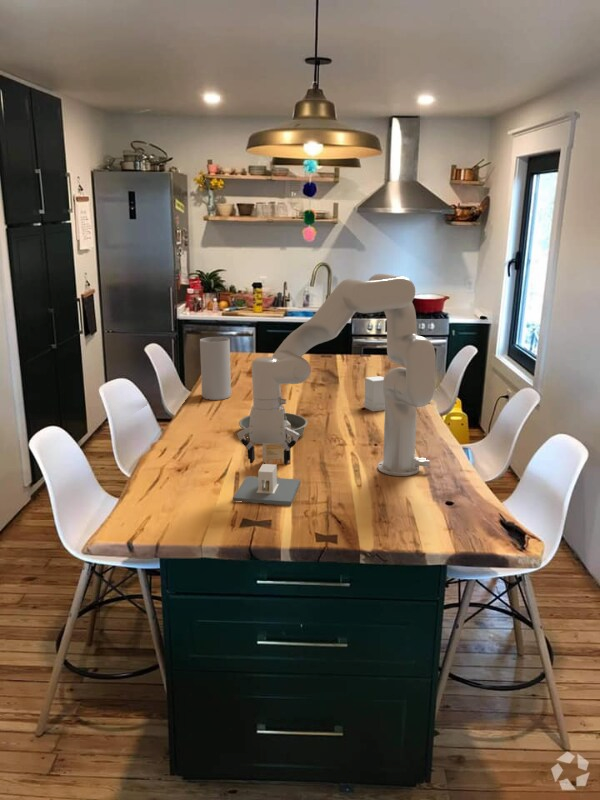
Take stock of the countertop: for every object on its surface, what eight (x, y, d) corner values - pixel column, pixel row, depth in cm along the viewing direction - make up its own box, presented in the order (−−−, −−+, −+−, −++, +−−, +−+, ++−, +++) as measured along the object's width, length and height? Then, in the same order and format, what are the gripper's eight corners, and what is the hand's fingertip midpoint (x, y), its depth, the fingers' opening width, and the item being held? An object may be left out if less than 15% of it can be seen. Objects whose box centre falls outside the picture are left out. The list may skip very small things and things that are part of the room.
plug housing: (276, 484, 191) (276, 464, 189) (272, 492, 185) (272, 472, 184) (263, 483, 191) (262, 463, 190) (258, 491, 186) (258, 471, 184)
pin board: (300, 483, 195) (300, 471, 194) (291, 505, 180) (291, 492, 179) (246, 480, 197) (246, 468, 197) (232, 501, 182) (232, 489, 181)
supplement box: (265, 466, 209) (265, 426, 205) (262, 461, 213) (261, 421, 210) (291, 463, 211) (291, 424, 207) (287, 458, 215) (287, 419, 212)
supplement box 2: (388, 410, 271) (389, 379, 267) (372, 411, 268) (373, 381, 265) (379, 405, 277) (380, 375, 274) (363, 407, 275) (364, 377, 271)
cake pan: (225, 433, 242) (224, 421, 241) (275, 419, 258) (275, 408, 257) (270, 449, 225) (270, 436, 224) (321, 433, 241) (321, 421, 240)
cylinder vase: (229, 400, 284) (227, 342, 278) (199, 400, 285) (197, 342, 278) (232, 393, 296) (231, 337, 290) (204, 393, 297) (202, 337, 290)
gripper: (300, 399, 184) (302, 458, 189) (239, 398, 187) (242, 456, 191) (296, 407, 177) (297, 468, 182) (232, 406, 180) (235, 465, 184)
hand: (269, 462), depth 187 cm, fingers open, 9 cm apart
